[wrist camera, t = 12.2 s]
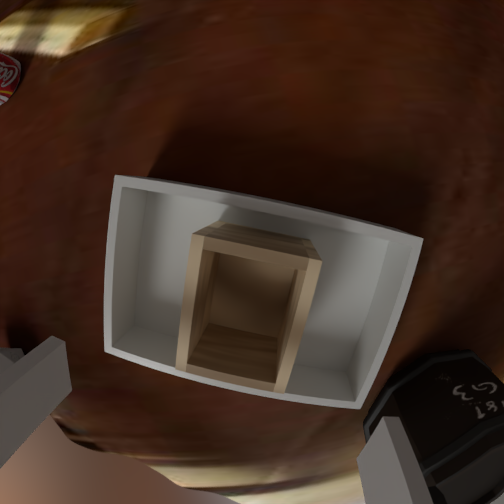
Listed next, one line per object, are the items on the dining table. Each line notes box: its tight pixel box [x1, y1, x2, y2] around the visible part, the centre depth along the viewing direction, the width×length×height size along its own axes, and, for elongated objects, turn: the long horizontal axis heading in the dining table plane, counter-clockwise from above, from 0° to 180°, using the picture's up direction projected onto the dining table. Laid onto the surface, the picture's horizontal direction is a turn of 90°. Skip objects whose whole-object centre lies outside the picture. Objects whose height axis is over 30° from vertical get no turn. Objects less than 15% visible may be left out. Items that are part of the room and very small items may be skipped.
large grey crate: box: [104, 175, 423, 409], centre depth 25 cm, size 16×24×6 cm, turn 79°
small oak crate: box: [175, 221, 322, 394], centre depth 23 cm, size 10×8×8 cm
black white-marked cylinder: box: [363, 349, 504, 504], centre depth 22 cm, size 18×18×16 cm
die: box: [0, 348, 25, 374], centre depth 30 cm, size 8×9×10 cm
